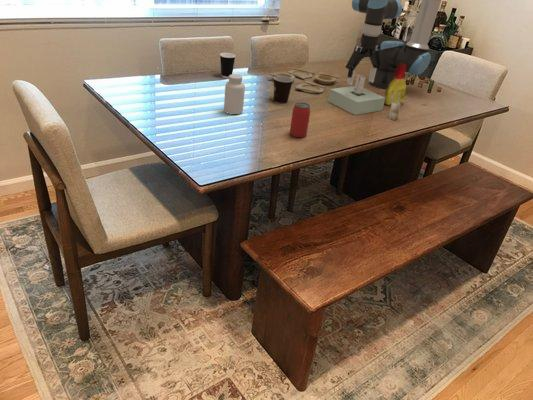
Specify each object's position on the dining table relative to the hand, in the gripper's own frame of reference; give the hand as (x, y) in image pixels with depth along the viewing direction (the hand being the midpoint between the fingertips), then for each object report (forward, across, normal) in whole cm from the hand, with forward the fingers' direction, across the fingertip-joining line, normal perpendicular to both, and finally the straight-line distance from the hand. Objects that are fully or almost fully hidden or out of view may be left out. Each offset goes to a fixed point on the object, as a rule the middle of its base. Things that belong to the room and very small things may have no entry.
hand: (360, 83), depth 198 cm
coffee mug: (+11, +30, -18) cm, 37 cm away
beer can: (+11, +47, +17) cm, 51 cm away
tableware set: (+12, +1, -37) cm, 39 cm away
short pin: (+11, -6, +18) cm, 22 cm away
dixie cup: (+11, +38, -55) cm, 68 cm away
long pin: (+11, 0, 0) cm, 11 cm away
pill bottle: (+11, +59, -12) cm, 61 cm away
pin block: (+11, 0, 0) cm, 11 cm away
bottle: (+11, -21, +4) cm, 24 cm away
